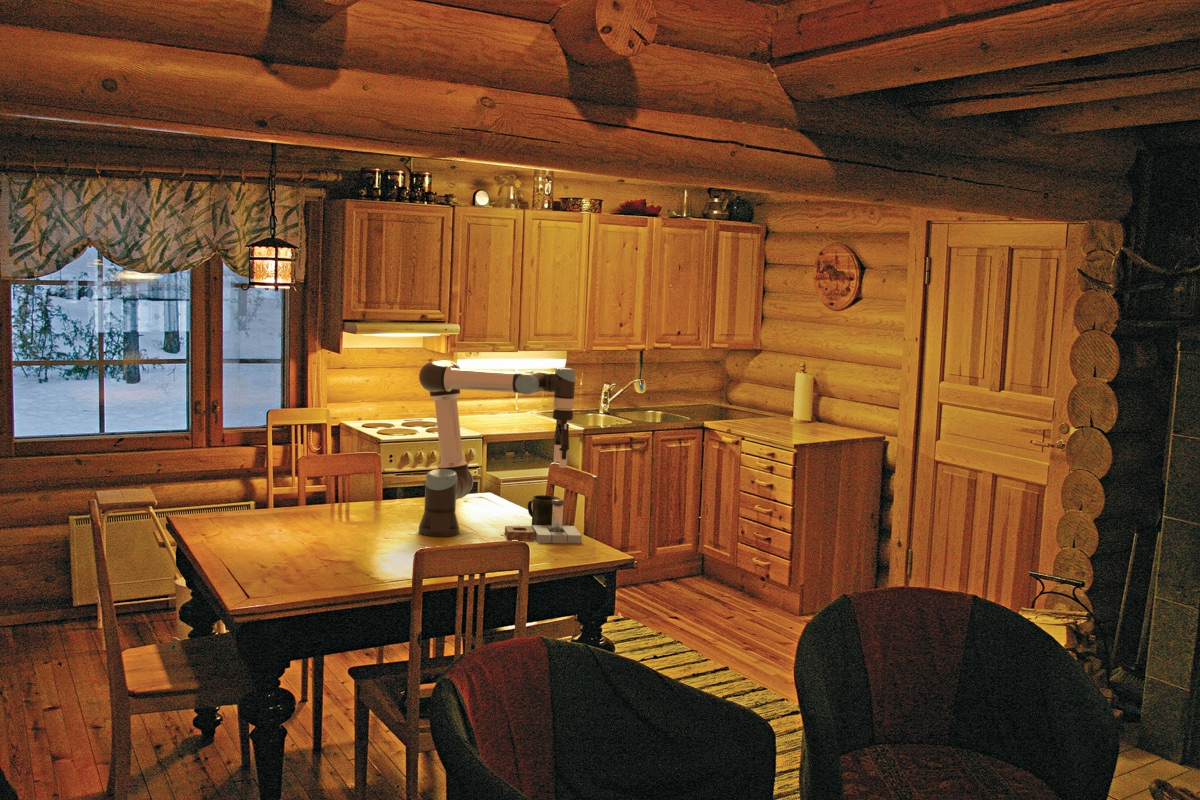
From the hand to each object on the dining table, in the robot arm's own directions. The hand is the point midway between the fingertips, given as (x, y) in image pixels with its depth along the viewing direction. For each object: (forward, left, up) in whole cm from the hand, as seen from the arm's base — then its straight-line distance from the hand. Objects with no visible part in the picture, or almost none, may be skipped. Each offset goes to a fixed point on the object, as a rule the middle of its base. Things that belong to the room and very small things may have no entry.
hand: (559, 464), depth 404 cm
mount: (-14, +1, -28) cm, 31 cm away
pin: (0, 0, -28) cm, 28 cm away
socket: (0, 0, -28) cm, 28 cm away
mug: (-3, +19, -29) cm, 34 cm away
